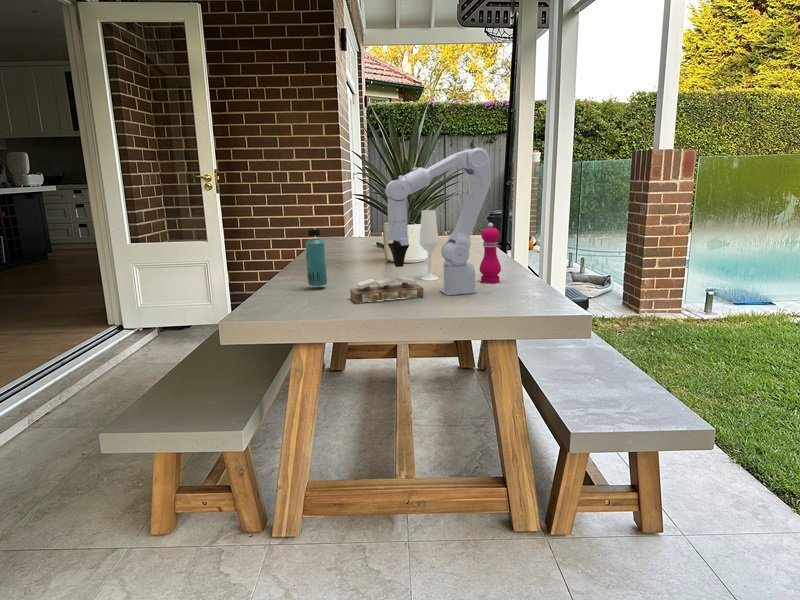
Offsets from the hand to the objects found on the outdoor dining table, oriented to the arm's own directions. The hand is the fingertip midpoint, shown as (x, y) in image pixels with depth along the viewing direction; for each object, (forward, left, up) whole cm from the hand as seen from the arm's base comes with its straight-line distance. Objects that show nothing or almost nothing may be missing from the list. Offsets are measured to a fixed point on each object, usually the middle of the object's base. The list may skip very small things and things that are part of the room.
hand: (399, 266), depth 167 cm
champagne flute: (-18, -24, -10) cm, 31 cm away
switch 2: (+4, 0, -5) cm, 6 cm away
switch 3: (-2, 0, -5) cm, 5 cm away
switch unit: (+4, 0, -9) cm, 10 cm away
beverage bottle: (+22, -23, -10) cm, 33 cm away
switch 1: (+10, 0, -5) cm, 11 cm away
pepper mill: (-35, -10, -10) cm, 37 cm away
